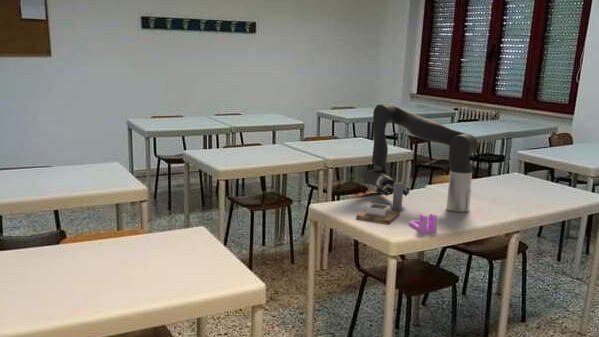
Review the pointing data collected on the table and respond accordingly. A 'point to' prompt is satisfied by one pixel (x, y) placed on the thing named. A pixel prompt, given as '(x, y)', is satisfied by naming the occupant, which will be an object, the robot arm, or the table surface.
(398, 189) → the peg
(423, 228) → the bracket
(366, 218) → the socket board
